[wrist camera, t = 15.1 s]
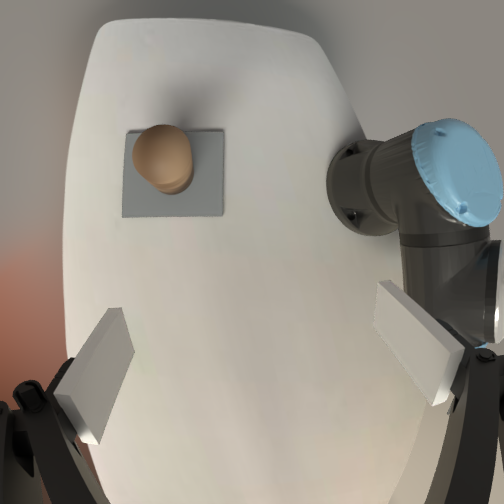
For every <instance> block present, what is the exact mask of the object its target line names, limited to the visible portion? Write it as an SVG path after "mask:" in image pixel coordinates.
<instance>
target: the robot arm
mask: <svg viewBox="0 0 504 504" xmlns="http://www.w3.org/2000/svg"><path fill="white" fill-rule="evenodd" d="M327 194H328V198H329V202H330V205H331V207H332V209H333V211H334V213H335V215H336V216H337V217H338V219H339V220H340V221H341V222H342V223H343V224H344V225H345V226H346V227H347V228H349V229H350V230H352V231H354V232H356V233H358V234H361V235H366V236H381V235H386V234H389V233H391V232H393V231H395V230H396V229H399V237H400V247H401V258H402V270H403V285H404V292H403V291H402V290H401V289H400V288H399V287H398V286H397V285H395V284H394V283H393V282H392V281H391V280H388V281H381V282H378V285H377V296H376V306H375V315H374V324H373V328H374V329H375V330H376V332H377V333H378V334H379V336H380V337H381V338H382V339H383V341H384V342H385V343H386V345H387V346H388V347H389V349H390V350H391V351H392V353H393V354H394V355H395V357H396V358H397V359H398V361H399V362H400V363H401V365H402V366H403V367H404V369H405V370H406V372H407V373H408V374H409V376H410V377H411V378H412V380H413V381H414V382H415V384H416V385H417V387H418V388H419V389H420V391H421V392H422V394H423V395H424V396H425V398H426V399H427V401H428V402H429V403H430V405H431V406H434V405H437V404H440V403H442V402H444V401H446V399H447V397H448V395H449V392H450V390H451V391H452V393H453V394H454V395H455V397H454V399H453V401H452V403H451V406H450V408H449V410H448V412H447V414H450V416H449V421H448V426H447V430H446V435H445V439H444V443H443V447H442V451H441V455H440V458H439V461H438V465H437V468H436V472H435V475H434V478H433V481H432V484H431V487H430V490H429V493H428V496H427V499H426V501H425V504H488V502H489V497H490V492H491V486H492V481H493V475H494V468H495V461H496V452H497V442H498V440H497V439H498V437H499V443H500V449H501V455H502V462H503V470H504V355H500V356H497V355H496V354H495V353H494V352H493V351H491V350H490V349H487V348H485V347H486V345H487V344H488V342H489V343H499V342H500V341H501V340H502V339H504V240H490V232H489V224H490V223H491V222H492V221H493V220H494V219H495V218H496V217H497V216H498V214H499V212H500V209H501V203H500V200H502V198H503V183H502V177H501V172H500V169H499V166H498V163H497V160H496V158H495V156H494V154H493V152H492V150H491V148H490V147H489V145H488V144H487V142H486V141H485V139H483V138H482V137H481V136H480V134H479V133H478V132H477V131H476V130H475V129H474V128H473V127H471V126H470V125H468V124H467V123H465V122H463V121H460V120H457V119H451V118H448V119H442V120H438V121H435V122H428V123H424V124H422V125H420V126H418V127H417V128H415V129H413V130H411V131H408V132H407V133H404V134H401V135H399V136H397V137H394V138H392V139H390V140H388V141H386V142H383V141H376V140H361V141H357V142H354V143H352V144H350V145H348V146H346V147H344V148H343V149H342V150H340V151H339V152H338V153H337V155H336V156H335V157H334V159H333V160H332V162H331V164H330V167H329V170H328V174H327ZM134 353H135V351H134V348H133V345H132V342H131V338H130V335H129V332H128V328H127V325H126V321H125V318H124V314H123V311H122V308H108V310H107V311H106V313H105V314H104V316H103V317H102V318H101V320H100V321H99V323H98V324H97V326H96V327H95V329H94V330H93V332H92V333H91V335H90V336H89V338H88V339H87V341H86V342H85V344H84V345H83V347H82V348H81V350H80V351H79V353H78V354H77V356H76V357H75V358H70V359H68V360H67V361H66V362H65V363H63V365H62V366H61V368H60V369H59V371H58V373H57V374H56V375H55V378H54V379H53V380H52V382H51V383H50V385H49V386H48V388H47V390H46V391H45V392H44V390H43V389H42V387H41V385H40V383H39V382H37V381H35V380H28V381H24V382H22V383H21V384H19V385H18V386H17V387H16V388H15V390H14V391H13V398H14V399H15V401H16V402H17V404H18V406H19V407H20V409H19V410H11V409H10V408H9V406H8V405H7V403H6V402H3V401H0V504H43V498H42V489H41V479H40V474H41V477H42V480H43V483H44V485H45V488H46V490H47V493H48V495H49V498H50V500H51V502H52V504H110V502H109V500H108V499H107V497H106V496H105V494H104V492H103V491H102V489H101V487H100V486H99V484H98V482H97V481H96V479H95V477H94V475H93V474H92V472H91V470H90V469H89V466H88V465H87V463H86V461H85V459H84V457H83V455H82V453H81V451H80V449H79V447H78V445H77V444H76V442H75V441H74V440H75V437H76V435H77V434H78V435H79V437H80V439H81V440H82V441H83V442H84V443H89V444H96V445H99V444H100V441H101V438H102V435H103V433H104V430H105V427H106V424H107V422H108V419H109V416H110V413H111V411H112V408H113V405H114V403H115V400H116V398H117V395H118V392H119V390H120V387H121V385H122V382H123V380H124V377H125V375H126V372H127V370H128V367H129V365H130V362H131V360H132V358H133V355H134Z"/></svg>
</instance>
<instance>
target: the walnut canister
mask: <svg viewBox="0 0 504 504" xmlns="http://www.w3.org/2000/svg"><path fill="white" fill-rule="evenodd" d="M132 160H133V164H134V167H135V169H136V170H137V172H138V173H139V174H140V175H141V176H142V177H144V178H145V179H146V180H147V181H148V182H149V183H150V184H151V185H153V186H154V187H155V188H156V189H157V190H158V191H160V192H161V193H164V194H167V195H175V194H179V193H181V192H183V191H185V190H186V189H187V188H188V187H189V186H190V184H191V182H192V180H193V176H194V169H193V161H192V154H191V147H190V142H189V140H188V138H187V136H186V135H185V134H184V133H183V132H182V131H181V130H180V129H178V128H177V127H174V126H171V125H156V126H153V127H151V128H149V129H147V130H145V131H144V132H143V133H142V134H141V135H140V136H139V137H138V139H137V140H136V142H135V144H134V147H133V151H132Z"/></svg>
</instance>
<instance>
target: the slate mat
mask: <svg viewBox="0 0 504 504" xmlns="http://www.w3.org/2000/svg"><path fill="white" fill-rule="evenodd" d="M183 133H184V134H185V135H186V136H187V138H188V140H189V142H190V147H191V154H192V161H193V169H194V176H193V180H192V182H191V184H190V186H189V187H188V188H187V189H186V190H185V191H183V192H181V193H179V194H175V195H167V194H164V193H161V192H160V191H158V190H157V189H156V188H155V187H154V186H153V185H151V184H150V183H149V182H148V181H147V180H146V179H145V178H144V177H142V176H141V175H140V174H139V173H138V172H137V170H136V169H135V167H134V164H133V160H132V151H133V147H134V144H135V142H136V140H137V139H138V137H139V136H140V135H141V134H142V133H131V134H126V141H125V154H124V170H123V194H122V218H128V217H188V216H222V214H223V139H224V132H183Z"/></svg>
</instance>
